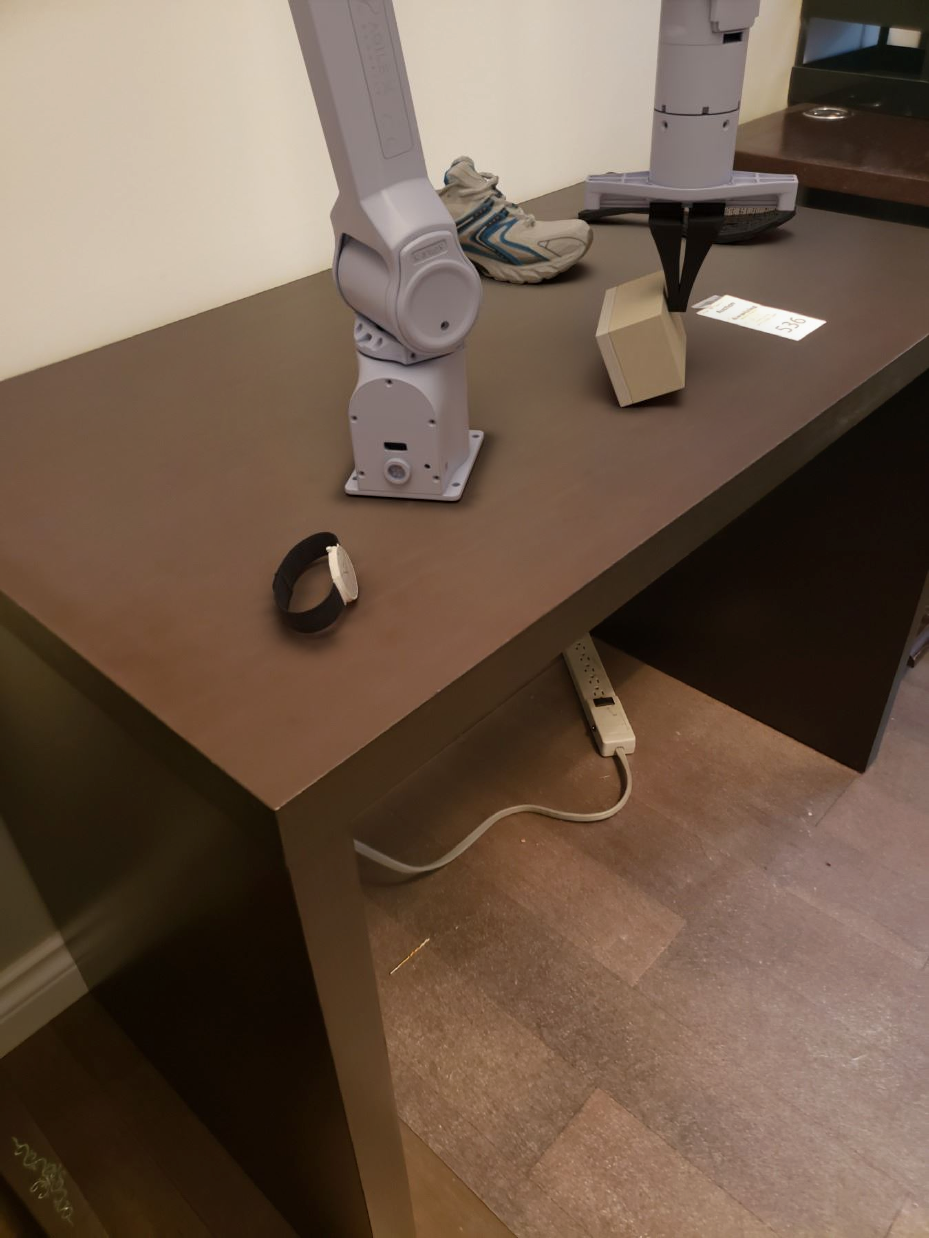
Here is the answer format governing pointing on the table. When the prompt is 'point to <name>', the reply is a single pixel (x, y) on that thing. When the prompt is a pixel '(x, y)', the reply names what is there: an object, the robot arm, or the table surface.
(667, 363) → the tilted tan cardboard box
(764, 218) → the hairbrush
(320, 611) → the watch
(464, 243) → the athletic shoe
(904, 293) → the table surface
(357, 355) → the robot arm
